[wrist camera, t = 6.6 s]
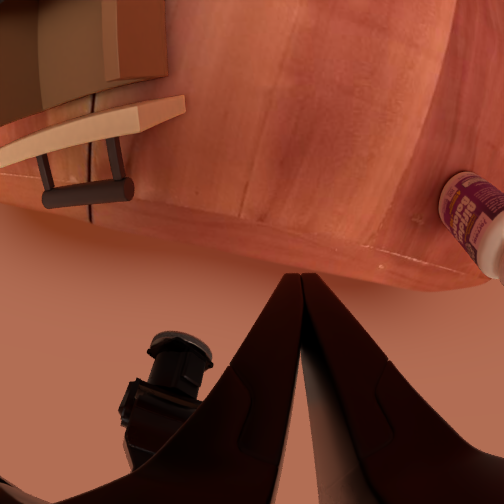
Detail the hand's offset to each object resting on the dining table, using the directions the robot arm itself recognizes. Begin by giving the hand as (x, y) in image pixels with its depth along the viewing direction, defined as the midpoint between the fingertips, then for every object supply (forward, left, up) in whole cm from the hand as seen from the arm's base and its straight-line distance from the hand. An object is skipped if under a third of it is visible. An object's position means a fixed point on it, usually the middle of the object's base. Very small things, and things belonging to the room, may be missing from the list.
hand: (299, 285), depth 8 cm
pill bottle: (+11, -10, -13) cm, 20 cm away
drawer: (-5, +15, -12) cm, 20 cm away
